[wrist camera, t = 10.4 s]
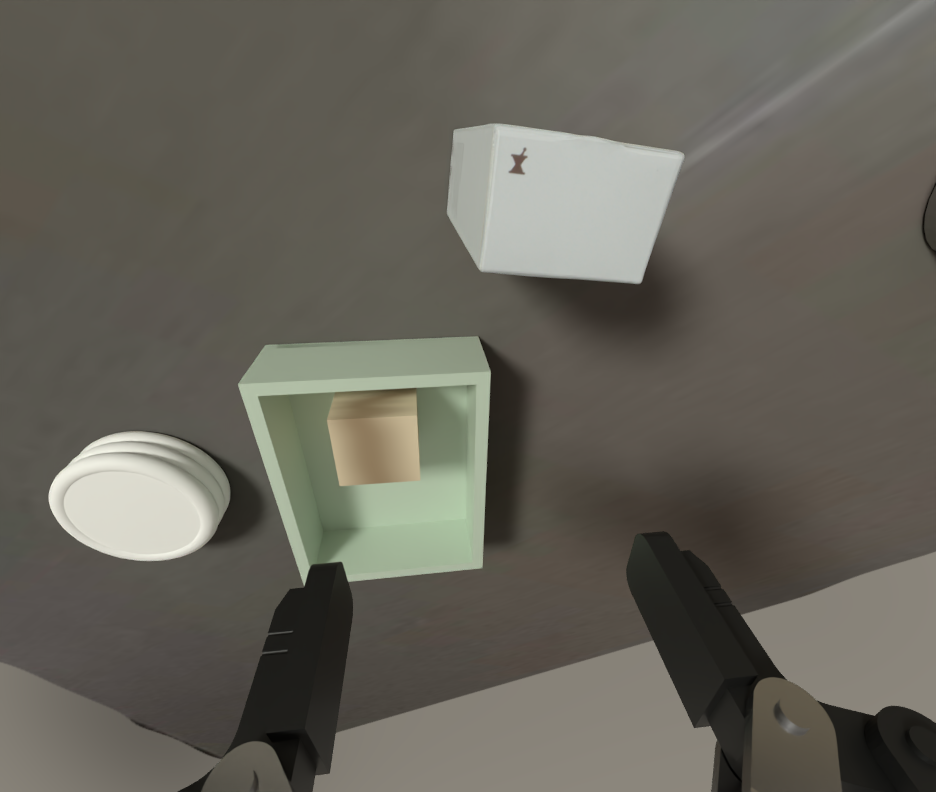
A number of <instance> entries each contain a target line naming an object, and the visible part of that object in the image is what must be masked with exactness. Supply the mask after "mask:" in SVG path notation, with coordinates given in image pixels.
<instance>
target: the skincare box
mask: <svg viewBox="0 0 936 792" xmlns="http://www.w3.org/2000/svg"><path fill="white" fill-rule="evenodd" d="M684 159H685V156H684V154H683V153H681V152H679V151H674V150H667V149H661V148H654V147H648V146H641V145H635V144H628V143H622V142H616V141H611V140H608V139H603V138H599V137H593V136H581V135H575V134H570V133H564V132H557V131H549V130H542V129H536V128H529V127H522V126H514V125H506V124H487V125H483V126H475V127H470V128H461V129H456V130H454V134H453V146H452V156H451V166H450V181H449V194H448V206H447V215H448V217H449V218H450V220H451V222H452V224H453V225H454V227H455V229H456V231H457V232H458V234H459V236H460V238H461V239H462V241H463V243H464V245H465V246H466V248H467V250H468V251H469V253H470V255H471V256H472V258H473V260H474V262H475V264H476V265H477V267H478V269H479V270H480V271H481V272H488V273H499V274H510V275H520V276H531V277H545V278H562V279H580V280H593V281H605V282H619V283H631V284H640V283H641V282H642V279H643V276H644V273H645V270H646V267H647V264H648V261H649V258H650V255H651V252H652V249H653V246H654V244H655V241H656V238H657V235H658V232H659V230H660V227H661V224H662V221H663V218H664V215H665V213H666V210H667V207H668V204H669V201H670V198H671V195H672V193H673V190H674V187H675V184H676V181H677V178H678V176H679V173H680V170H681V168H682V165H683V162H684Z"/></svg>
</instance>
